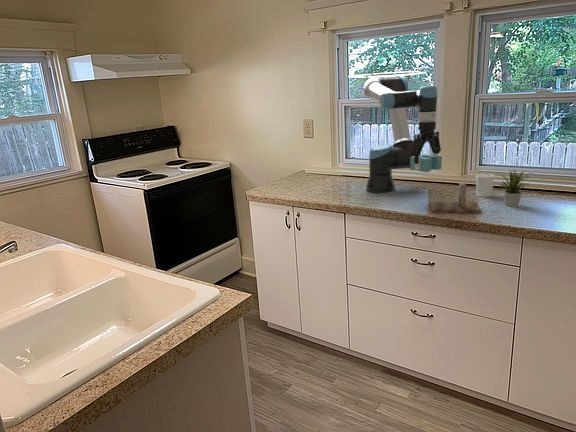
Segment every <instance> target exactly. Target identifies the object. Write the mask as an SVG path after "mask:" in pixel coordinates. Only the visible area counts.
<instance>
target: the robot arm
mask: <svg viewBox="0 0 576 432" xmlns="http://www.w3.org/2000/svg"><path fill="white" fill-rule="evenodd" d="M363 92H364V94H365V96H366V97H368V98H369V99H370V100H371V99H372V100H376V101H378V102H379V104H380V108H381V109H383V110H389V119H390V124H391V129H392V136H393V140H394V142H393V144H382V145H381V144H380V145H378V146H377V145H376V146H373V147H371V148H370V150H369V156H368V159H369V160H368V161H369V176H368V180H367V182H366V185H365V187H366V191H367V192H371V193H389V192H393V191H395V190H396V189H395V188H396V186H395V181H394V178H393V175H392V174H393V173H392V171H393V170H402V169H410V157H413V156H414V163H415V170H414V171H417V172H421V171H420V164H421V157H419V156H420V155H422V154H421V153H422V151H423V148H424V146H425V144H426V143H429V147H430V150H431V153H430V155H435V156H438V154H440V152H441V151H442V149H441V143H440V132H439V131H437V130H436V126H437V121H436V120H437V105H438V104H437V102H438V87H437V86H435V85H425V86H421V87H420V88H419V89H416V90H409V82H408V80H407V78H406V77H405V75H403V74H391V75H376V76H372V77H371V78H369V79H368V80H367V81H366V82H365V83H364V86H363ZM406 108H408V109H409V108H418V121H419V122H418V130H419V133H418V134H417V133H415V134H414V135H413V137H414V139H412V138H411V133H410V126H409V122H408V115H407V110H406ZM435 130H436V131H435Z"/></svg>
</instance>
